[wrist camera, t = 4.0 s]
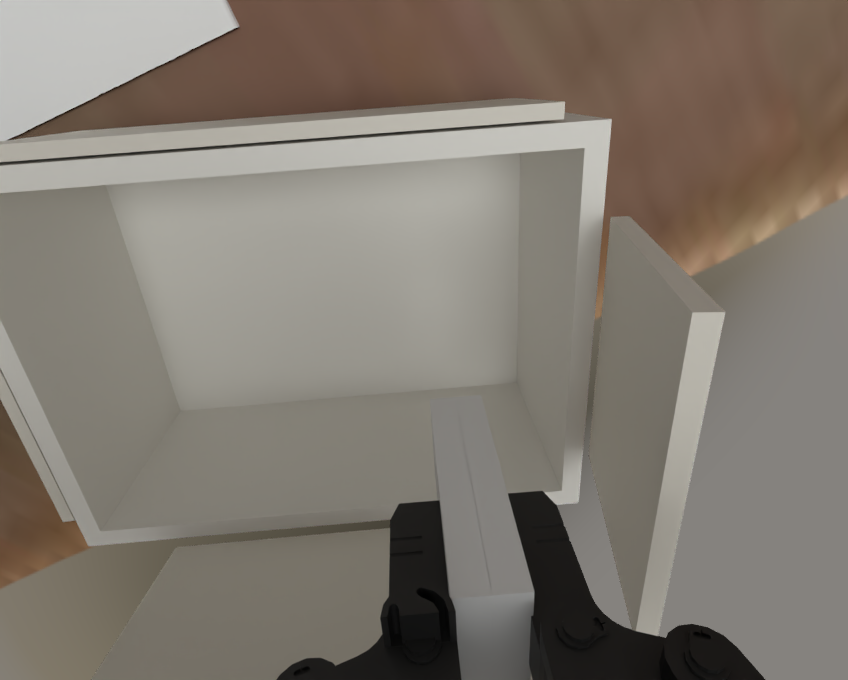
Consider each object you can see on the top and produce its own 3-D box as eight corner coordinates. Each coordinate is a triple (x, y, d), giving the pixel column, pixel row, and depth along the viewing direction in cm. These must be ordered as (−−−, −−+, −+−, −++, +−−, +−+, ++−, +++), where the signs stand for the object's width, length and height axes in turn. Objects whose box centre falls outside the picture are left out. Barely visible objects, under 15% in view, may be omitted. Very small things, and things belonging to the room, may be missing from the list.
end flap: (634, 638, 14) (657, 640, 14) (692, 312, 10) (725, 312, 10) (588, 455, 22) (603, 455, 21) (610, 216, 17) (629, 216, 17)
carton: (165, 419, 32) (75, 549, 23) (64, 130, 25) (-126, 154, 16) (527, 388, 32) (578, 504, 23) (534, 94, 25) (613, 98, 16)
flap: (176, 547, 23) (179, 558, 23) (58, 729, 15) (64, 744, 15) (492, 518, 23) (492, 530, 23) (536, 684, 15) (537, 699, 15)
